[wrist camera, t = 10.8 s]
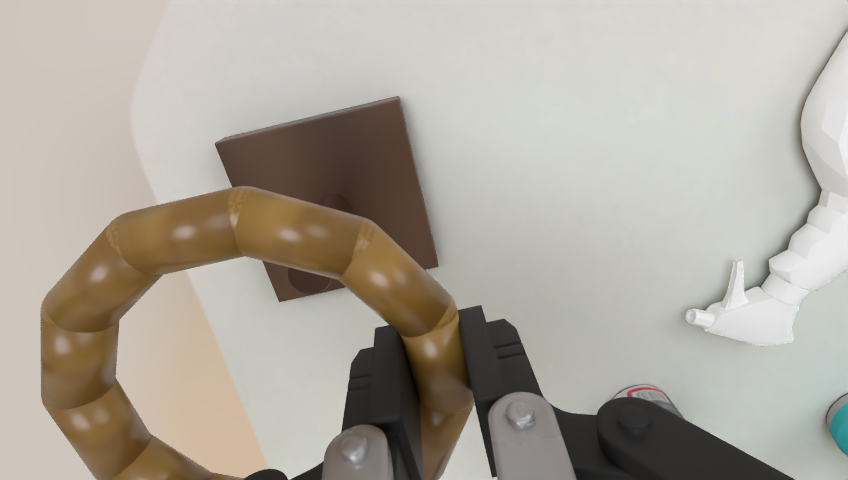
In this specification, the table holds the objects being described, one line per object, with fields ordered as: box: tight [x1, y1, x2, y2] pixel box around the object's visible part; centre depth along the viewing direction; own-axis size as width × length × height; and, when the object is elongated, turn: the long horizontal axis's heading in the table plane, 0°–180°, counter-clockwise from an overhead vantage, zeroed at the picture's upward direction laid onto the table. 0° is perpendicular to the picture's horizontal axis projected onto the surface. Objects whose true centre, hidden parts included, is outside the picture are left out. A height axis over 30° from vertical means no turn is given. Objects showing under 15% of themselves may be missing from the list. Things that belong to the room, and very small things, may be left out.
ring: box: [41, 186, 474, 480], centre depth 13 cm, size 11×11×2 cm
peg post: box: [215, 96, 439, 302], centre depth 23 cm, size 10×10×10 cm
